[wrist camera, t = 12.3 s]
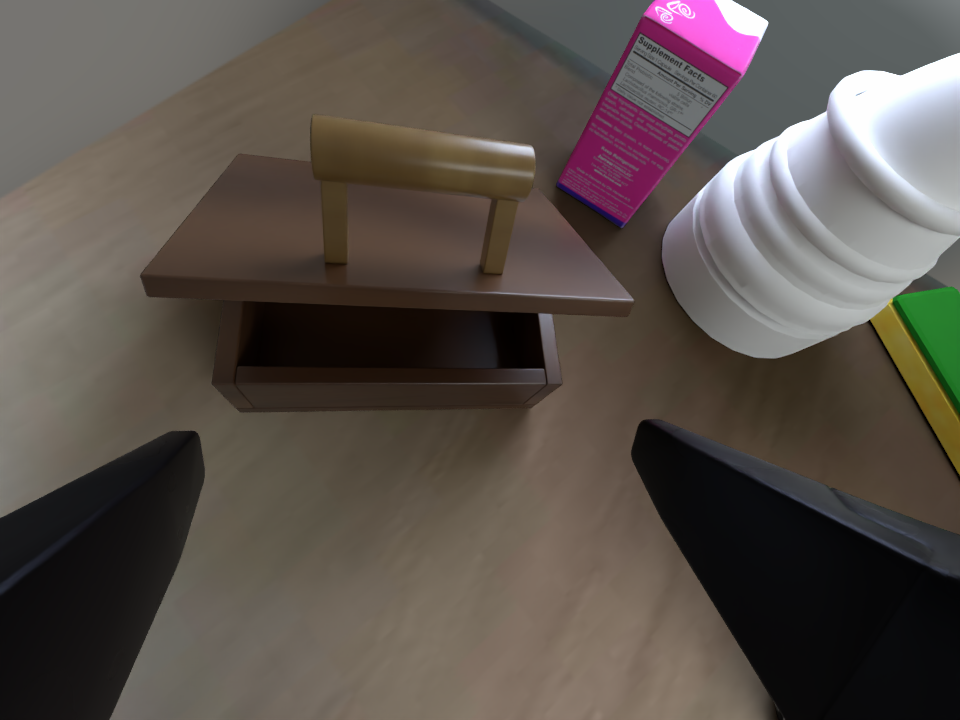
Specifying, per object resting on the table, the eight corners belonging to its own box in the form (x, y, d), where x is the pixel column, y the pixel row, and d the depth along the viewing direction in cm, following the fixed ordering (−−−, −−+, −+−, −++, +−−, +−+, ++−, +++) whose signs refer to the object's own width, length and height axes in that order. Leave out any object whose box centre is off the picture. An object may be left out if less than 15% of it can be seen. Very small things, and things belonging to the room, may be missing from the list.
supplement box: (582, 140, 33) (681, -38, 23) (648, 182, 33) (776, 24, 23) (550, 185, 31) (644, 8, 21) (621, 231, 31) (751, 78, 21)
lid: (628, 317, 15) (689, 180, 13) (145, 297, 12) (78, 98, 9) (536, 201, 24) (560, 103, 21) (240, 168, 20) (221, 46, 18)
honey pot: (698, 176, 35) (988, -135, 19) (831, 272, 35) (1244, 41, 18) (633, 280, 30) (964, -34, 13) (791, 396, 29) (1329, 220, 13)
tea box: (531, 408, 24) (563, 384, 21) (239, 412, 21) (210, 384, 17) (511, 246, 28) (535, 200, 24) (260, 226, 24) (241, 167, 21)
